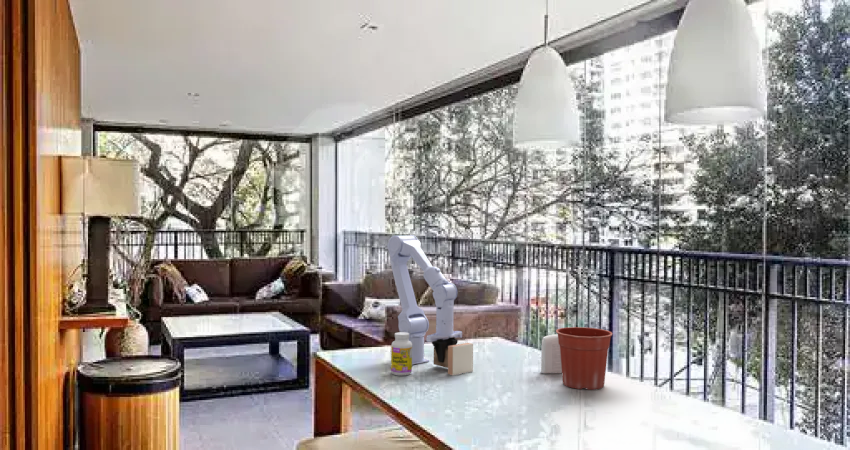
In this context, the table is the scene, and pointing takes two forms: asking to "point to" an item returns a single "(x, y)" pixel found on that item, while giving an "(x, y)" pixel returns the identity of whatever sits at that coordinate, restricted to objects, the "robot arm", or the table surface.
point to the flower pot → (583, 356)
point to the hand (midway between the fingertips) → (444, 361)
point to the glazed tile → (460, 358)
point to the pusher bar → (445, 363)
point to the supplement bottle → (401, 354)
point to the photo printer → (551, 355)
